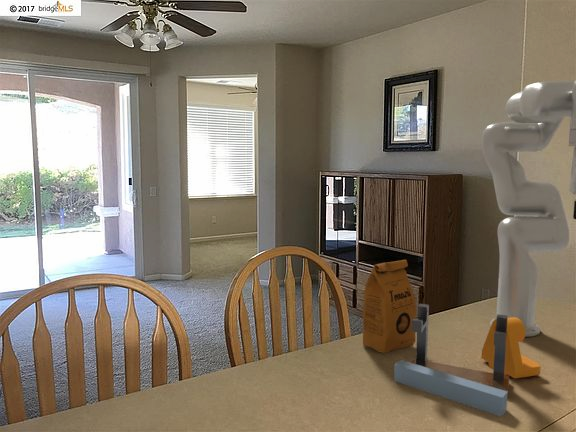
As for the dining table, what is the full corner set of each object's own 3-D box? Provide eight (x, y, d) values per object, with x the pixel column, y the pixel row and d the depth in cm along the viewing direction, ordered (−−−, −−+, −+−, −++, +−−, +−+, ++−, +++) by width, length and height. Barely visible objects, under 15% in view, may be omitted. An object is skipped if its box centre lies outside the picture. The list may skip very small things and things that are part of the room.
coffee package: (421, 348, 120) (424, 262, 117) (382, 358, 114) (385, 268, 111) (394, 335, 129) (396, 255, 126) (357, 344, 123) (359, 260, 120)
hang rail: (400, 377, 105) (401, 359, 105) (506, 411, 91) (507, 391, 91) (394, 382, 103) (394, 364, 102) (501, 418, 89) (502, 397, 88)
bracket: (542, 377, 104) (545, 324, 103) (514, 382, 102) (517, 328, 101) (506, 357, 115) (509, 309, 113) (481, 361, 113) (483, 312, 111)
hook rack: (414, 364, 111) (416, 301, 109) (508, 383, 102) (513, 314, 100) (405, 379, 103) (407, 312, 101) (507, 401, 94) (511, 327, 92)
